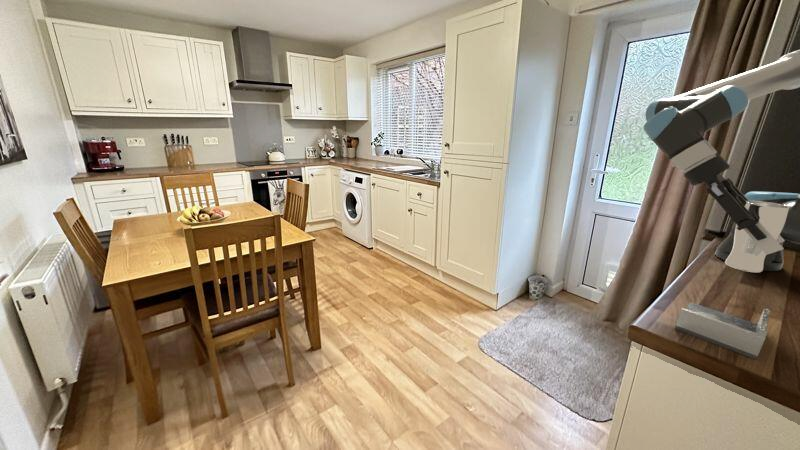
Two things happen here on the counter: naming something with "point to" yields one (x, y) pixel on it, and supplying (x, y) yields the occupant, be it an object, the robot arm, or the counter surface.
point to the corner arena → (724, 329)
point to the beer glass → (744, 247)
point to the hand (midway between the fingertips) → (775, 247)
